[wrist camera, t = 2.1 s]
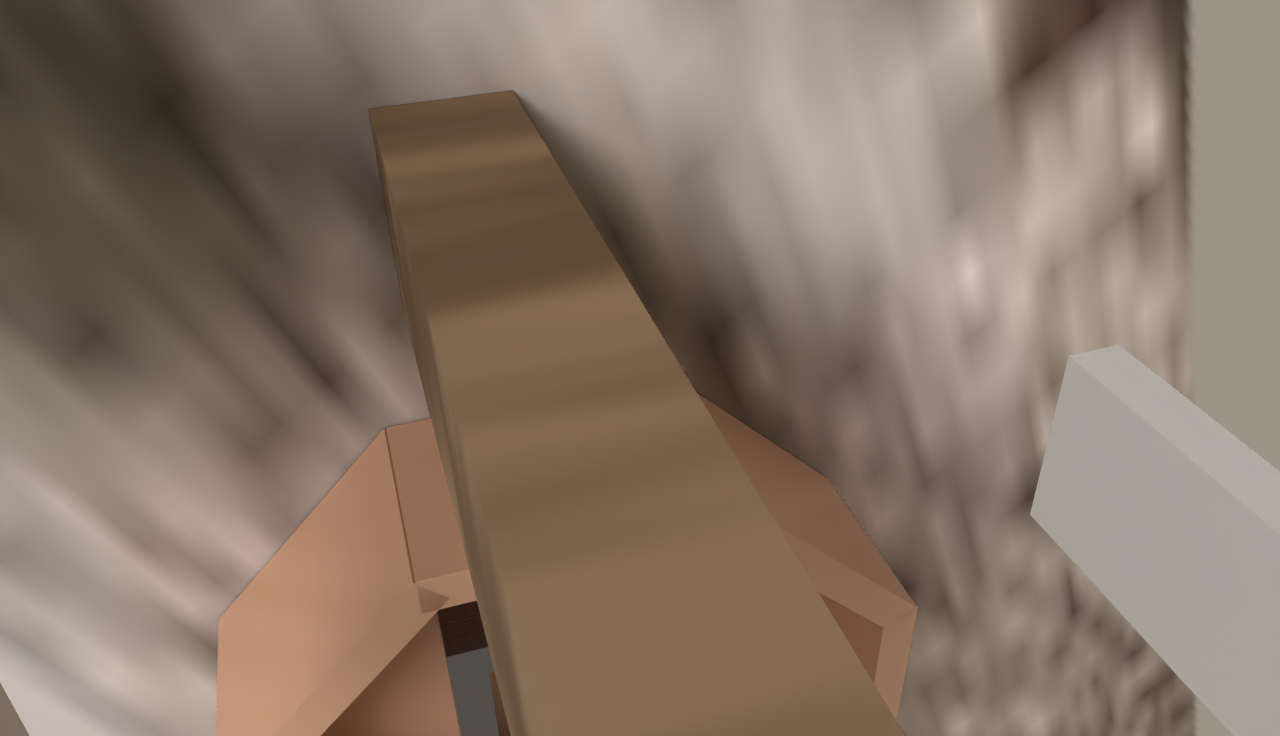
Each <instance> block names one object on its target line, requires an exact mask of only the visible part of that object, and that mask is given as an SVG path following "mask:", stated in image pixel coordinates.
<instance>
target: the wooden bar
mask: <svg viewBox="0 0 1280 736" xmlns="http://www.w3.org/2000/svg"><path fill="white" fill-rule="evenodd" d="M369 115H370V121H371V127H372V132H373V138H374V144H375V149H376V155H377V161H378V167H379V172H380V178H381V184H382V190H383V195H384V201H385V207H386V213H387V218H388V224H389V230H390V235H391V241H392V247H393V253H394V258H395V264H396V270H397V276H398V281H399V287H400V293H401V299H402V304H403V310H404V314H405V318H406V322H407V326H408V329H409V333H410V337H411V341H412V345H413V349H414V353H415V357H416V361H417V365H418V369H419V373H420V377H421V381H422V385H423V389H424V393H425V397H426V401H427V405H428V409H429V413H430V417H431V421H432V425H433V429H434V433H435V437H436V441H437V445H438V449H439V453H440V457H441V461H442V465H443V468H444V472H445V476H446V480H447V484H448V488H449V492H450V496H451V500H452V504H453V508H454V512H455V516H456V520H457V524H458V528H459V532H460V536H461V540H462V544H463V548H464V552H465V556H466V560H467V564H468V568H469V572H470V576H471V580H472V584H473V588H474V592H475V596H476V600H477V603H478V607H479V611H480V615H481V619H482V623H483V627H484V631H485V635H486V639H487V643H488V647H489V651H490V655H491V659H492V663H493V667H494V671H495V675H496V679H497V683H498V687H499V691H500V695H501V699H502V703H503V707H504V711H505V715H506V719H507V723H508V727H509V731H510V735H511V736H906V735H905V734H904V732H903V730H902V729H901V727H900V726H899V724H898V722H897V721H896V719H895V717H894V716H893V714H892V712H891V711H890V709H889V707H888V706H887V704H886V703H885V701H884V699H883V698H882V696H881V694H880V693H879V691H878V689H877V688H876V686H875V684H874V683H873V681H872V680H871V678H870V676H869V675H868V673H867V671H866V670H865V668H864V666H863V665H862V663H861V661H860V660H859V658H858V657H857V655H856V653H855V652H854V650H853V648H852V647H851V645H850V643H849V642H848V640H847V639H846V637H845V635H844V634H843V632H842V630H841V629H840V627H839V625H838V624H837V622H836V620H835V619H834V617H833V616H832V614H831V612H830V611H829V609H828V607H827V606H826V604H825V602H824V601H823V599H822V597H821V596H820V594H819V593H818V591H817V589H816V588H815V586H814V584H813V583H812V581H811V579H810V578H809V576H808V574H807V573H806V571H805V570H804V568H803V566H802V565H801V563H800V561H799V560H798V558H797V556H796V555H795V553H794V551H793V550H792V548H791V547H790V545H789V543H788V542H787V540H786V538H785V537H784V535H783V533H782V532H781V530H780V528H779V527H778V525H777V524H776V522H775V520H774V519H773V517H772V515H771V514H770V512H769V510H768V509H767V507H766V505H765V504H764V502H763V501H762V499H761V497H760V496H759V494H758V492H757V491H756V489H755V487H754V486H753V484H752V483H751V481H750V479H749V478H748V476H747V474H746V473H745V471H744V469H743V468H742V466H741V464H740V463H739V461H738V460H737V458H736V456H735V455H734V453H733V451H732V450H731V448H730V446H729V445H728V443H727V441H726V440H725V438H724V437H723V435H722V433H721V432H720V430H719V428H718V427H717V425H716V423H715V422H714V420H713V418H712V417H711V415H710V414H709V412H708V410H707V409H706V407H705V405H704V404H703V402H702V400H701V399H700V397H699V395H698V394H697V392H696V391H695V389H694V387H693V386H692V384H691V382H690V381H689V379H688V377H687V376H686V374H685V372H684V371H683V369H682V368H681V366H680V364H679V363H678V361H677V359H676V358H675V356H674V354H673V353H672V351H671V349H670V348H669V346H668V345H667V343H666V341H665V340H664V338H663V336H662V335H661V333H660V331H659V330H658V328H657V327H656V325H655V323H654V322H653V320H652V318H651V317H650V315H649V313H648V312H647V310H646V308H645V307H644V305H643V304H642V302H641V300H640V299H639V297H638V295H637V294H636V292H635V290H634V289H633V287H632V285H631V284H630V282H629V281H628V279H627V277H626V276H625V274H624V272H623V271H622V269H621V267H620V266H619V264H618V262H617V261H616V259H615V258H614V256H613V254H612V253H611V251H610V249H609V248H608V246H607V244H606V243H605V241H604V239H603V238H602V236H601V235H600V233H599V231H598V230H597V228H596V226H595V225H594V223H593V221H592V220H591V218H590V216H589V215H588V213H587V212H586V210H585V208H584V207H583V205H582V203H581V202H580V200H579V198H578V197H577V195H576V193H575V192H574V190H573V189H572V187H571V185H570V184H569V182H568V180H567V179H566V177H565V175H564V174H563V172H562V170H561V169H560V167H559V166H558V164H557V162H556V161H555V159H554V157H553V156H552V154H551V152H550V151H549V149H548V148H547V146H546V144H545V143H544V141H543V139H542V138H541V136H540V134H539V133H538V131H537V129H536V128H535V126H534V125H533V123H532V121H531V120H530V118H529V116H528V115H527V113H526V111H525V110H524V108H523V106H522V105H521V103H520V102H519V100H518V98H517V97H516V95H515V93H514V92H513V90H512V91H504V92H496V93H489V94H481V95H473V96H465V97H458V98H450V99H442V100H434V101H427V102H419V103H411V104H404V105H396V106H388V107H380V108H373V109H369Z"/></svg>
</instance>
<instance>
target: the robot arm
mask: <svg viewBox="0 0 1280 736" xmlns="http://www.w3.org/2000/svg"><path fill="white" fill-rule="evenodd" d="M1030 515H1031V516H1032V517H1033V518H1034V519H1035V520H1036V522H1037V523H1038V524H1039V525H1040V526H1041V527H1042V528H1043V529H1044V530H1045V531H1046V533H1047V534H1048V535H1049V536H1050V537H1051V538H1052V539H1053V540H1054V541H1055V542H1056V543H1057V545H1058V546H1059V547H1060V548H1061V549H1062V550H1063V551H1064V552H1065V553H1066V554H1067V555H1068V557H1069V558H1070V559H1071V560H1072V561H1073V562H1074V563H1075V564H1076V565H1077V566H1078V567H1079V569H1080V570H1081V571H1082V572H1083V573H1084V574H1085V575H1086V576H1087V577H1088V578H1089V579H1090V581H1091V582H1092V583H1093V584H1094V585H1095V586H1096V587H1097V588H1098V589H1099V590H1100V591H1101V593H1102V594H1103V595H1104V596H1105V597H1106V598H1107V599H1108V600H1109V601H1110V602H1111V603H1112V605H1113V606H1114V607H1115V608H1116V609H1117V610H1118V611H1119V612H1120V613H1121V614H1122V616H1123V617H1124V618H1125V619H1126V620H1127V621H1128V622H1129V623H1130V624H1131V625H1132V626H1133V628H1134V629H1135V630H1136V631H1137V632H1138V633H1139V634H1140V635H1141V636H1142V637H1143V638H1144V640H1145V641H1146V642H1147V643H1148V644H1149V645H1150V646H1151V647H1152V648H1153V649H1154V650H1155V652H1156V653H1157V654H1158V655H1159V656H1160V657H1161V658H1162V659H1163V660H1164V661H1165V662H1166V664H1167V665H1168V666H1169V667H1170V668H1171V669H1172V670H1173V671H1174V672H1175V673H1176V674H1177V676H1178V677H1179V678H1180V679H1181V680H1182V681H1183V682H1184V683H1185V684H1186V685H1187V686H1188V688H1189V689H1190V690H1191V691H1192V692H1193V693H1194V694H1195V695H1196V696H1197V697H1198V699H1199V700H1200V701H1201V702H1202V703H1203V704H1204V705H1205V706H1206V707H1207V708H1208V709H1209V710H1210V712H1211V713H1212V714H1213V715H1214V716H1215V717H1216V718H1217V719H1218V720H1219V721H1220V723H1221V724H1222V725H1223V726H1224V727H1225V728H1226V729H1227V730H1228V731H1229V732H1230V733H1231V735H1232V736H1280V471H1279V470H1277V469H1276V468H1275V467H1273V466H1272V465H1271V464H1270V463H1268V462H1267V461H1266V460H1265V459H1263V458H1262V457H1261V456H1260V455H1258V454H1257V453H1256V452H1254V451H1253V450H1252V449H1251V448H1249V447H1248V446H1247V445H1246V444H1244V443H1243V442H1242V441H1240V440H1239V439H1238V438H1237V437H1235V436H1234V435H1233V434H1232V433H1230V432H1229V431H1228V430H1226V429H1225V428H1224V427H1223V426H1221V425H1220V424H1219V423H1218V422H1216V421H1215V420H1214V419H1213V418H1211V417H1210V416H1209V415H1207V414H1206V413H1205V412H1204V411H1202V410H1201V409H1200V408H1199V407H1197V406H1196V405H1195V404H1193V403H1192V402H1191V401H1190V400H1188V399H1187V398H1186V397H1185V396H1183V395H1182V394H1181V393H1180V392H1178V391H1177V390H1176V389H1174V388H1173V387H1172V386H1171V385H1169V384H1168V383H1167V382H1166V381H1164V380H1163V379H1162V378H1160V377H1159V376H1158V375H1157V374H1155V373H1154V372H1153V371H1152V370H1150V369H1149V368H1148V367H1146V366H1145V365H1144V364H1143V363H1141V362H1140V361H1139V360H1138V359H1136V358H1135V357H1134V356H1133V355H1131V354H1130V353H1129V352H1127V351H1126V350H1125V349H1124V348H1122V347H1121V346H1120V345H1116V346H1111V347H1107V348H1102V349H1097V350H1093V351H1088V352H1083V353H1079V354H1074V355H1069V357H1068V361H1067V365H1066V369H1065V373H1064V377H1063V382H1062V386H1061V390H1060V394H1059V398H1058V402H1057V406H1056V410H1055V414H1054V418H1053V422H1052V427H1051V431H1050V435H1049V439H1048V443H1047V447H1046V451H1045V455H1044V459H1043V463H1042V468H1041V472H1040V476H1039V480H1038V484H1037V488H1036V492H1035V496H1034V500H1033V504H1032V508H1031V513H1030ZM0 736H29V734H28V732H27V730H26V729H25V727H24V725H23V723H22V721H21V720H20V718H19V716H18V714H17V712H16V711H15V709H14V707H13V705H12V703H11V702H10V700H9V698H8V696H7V694H6V692H5V691H4V689H3V687H2V685H1V683H0Z"/></svg>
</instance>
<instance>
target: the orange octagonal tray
mask: <svg viewBox="0 0 1280 736" xmlns="http://www.w3.org/2000/svg"><path fill="white" fill-rule="evenodd" d="M697 394H698V393H697ZM698 395H699V397H700V399H701V400H702V402H703V404H704V405H705V407H706V409H707V410H708V412H709V414H710V415H711V417H712V418H713V420H714V422H715V423H716V425H717V427H718V428H719V430H720V432H721V433H722V435H723V437H724V438H725V440H726V441H727V443H728V445H729V446H730V448H731V450H732V451H733V453H734V455H735V456H736V458H737V460H738V461H739V463H740V464H741V466H742V468H743V469H744V471H745V473H746V474H747V476H748V478H749V479H750V481H751V483H752V484H753V486H754V487H755V489H756V491H757V492H758V494H759V496H760V497H761V499H762V501H763V502H764V504H765V505H766V507H767V509H768V510H769V512H770V514H771V515H772V517H773V519H774V520H775V522H776V524H777V525H778V527H779V528H780V530H781V532H782V533H783V535H784V537H785V538H786V540H787V542H788V543H789V545H790V547H791V548H792V550H793V551H794V553H795V555H796V556H797V558H798V560H799V561H800V563H801V565H802V566H803V568H804V570H805V571H806V573H807V574H808V576H809V578H810V579H811V581H812V583H813V584H814V586H815V588H816V589H817V591H818V593H819V594H820V596H821V597H822V599H823V601H824V602H825V604H826V606H827V607H828V609H829V611H830V612H831V614H832V616H833V617H834V619H835V620H836V622H837V624H838V625H839V627H840V629H841V630H842V632H843V634H844V635H845V637H846V639H847V640H848V642H849V643H850V645H851V647H852V648H853V650H854V652H855V653H856V655H857V657H858V658H859V660H860V661H861V663H862V665H863V666H864V668H865V670H866V671H867V673H868V675H869V676H870V678H871V680H872V681H873V683H874V684H875V686H876V688H877V689H878V691H879V693H880V694H881V696H882V698H883V699H884V701H885V703H886V704H887V706H888V707H889V709H890V711H891V712H892V714H893V716H894V717H895V719H896V721H897V717H898V711H899V706H900V701H901V696H902V691H903V685H904V680H905V675H906V670H907V665H908V659H909V654H910V649H911V644H912V639H913V633H914V628H915V623H916V618H917V612H918V608H917V606H916V605H915V603H914V602H913V601H912V599H911V598H910V596H909V595H908V593H907V592H906V590H905V589H904V588H903V586H902V585H901V583H900V582H899V580H898V579H897V578H896V576H895V575H894V573H893V572H892V570H891V569H890V568H889V566H888V565H887V563H886V562H885V560H884V559H883V558H882V556H881V555H880V553H879V552H878V550H877V549H876V547H875V546H874V545H873V543H872V542H871V540H870V539H869V537H868V536H867V535H866V533H865V532H864V530H863V529H862V527H861V526H860V525H859V523H858V522H857V520H856V519H855V517H854V516H853V514H852V513H851V512H850V510H849V509H848V507H847V506H846V504H845V503H844V502H843V500H842V499H841V497H840V496H839V494H838V493H837V492H836V490H835V489H834V487H833V486H832V484H831V483H830V482H829V480H828V479H827V478H826V477H825V476H823V475H822V474H820V473H818V472H817V471H815V470H814V469H812V468H811V467H809V466H808V465H806V464H805V463H803V462H802V461H800V460H799V459H797V458H796V457H794V456H793V455H791V454H790V453H788V452H786V451H785V450H783V449H782V448H780V447H779V446H777V445H776V444H774V443H773V442H771V441H770V440H768V439H767V438H765V437H764V436H762V435H761V434H759V433H758V432H756V431H754V430H753V429H751V428H750V427H748V426H747V425H745V424H744V423H742V422H741V421H739V420H738V419H736V418H735V417H733V416H732V415H730V414H729V413H727V412H725V411H724V410H722V409H721V408H719V407H718V406H716V405H715V404H713V403H712V402H710V401H709V400H707V399H706V398H704V397H703V396H701V395H700V394H698ZM473 601H477V600H476V596H475V592H474V588H473V584H472V580H471V576H470V572H469V568H468V564H467V560H466V556H465V552H464V548H463V544H462V540H461V536H460V532H459V528H458V524H457V520H456V516H455V512H454V508H453V504H452V500H451V496H450V492H449V488H448V484H447V480H446V476H445V472H444V468H443V465H442V461H441V457H440V453H439V449H438V445H437V441H436V437H435V433H434V429H433V425H432V421H431V418H430V419H425V420H420V421H415V422H410V423H405V424H400V425H395V426H390V427H386V429H383V430H382V431H381V432H380V434H379V435H378V436H377V437H376V438H375V439H374V441H373V442H372V443H371V444H370V445H369V446H368V447H367V449H366V450H365V451H364V452H363V453H362V454H361V456H360V457H359V458H358V459H357V460H356V461H355V463H354V464H353V465H352V466H351V467H350V468H349V469H348V471H347V472H346V473H345V474H344V475H343V476H342V478H341V479H340V480H339V481H338V482H337V483H336V484H335V486H334V487H333V488H332V489H331V490H330V491H329V493H328V494H327V495H326V496H325V497H324V498H323V500H322V501H321V502H320V503H319V504H318V505H317V506H316V508H315V509H314V510H313V511H312V512H311V513H310V515H309V516H308V517H307V518H306V519H305V520H304V521H303V523H302V524H301V525H300V526H299V527H298V528H297V530H296V531H295V532H294V533H293V534H292V535H291V536H290V538H289V539H288V540H287V541H286V542H285V543H284V545H283V546H282V547H281V548H280V549H279V550H278V552H277V553H276V554H275V555H274V556H273V557H272V558H271V560H270V561H269V562H268V563H267V564H266V565H265V567H264V568H263V569H262V570H261V571H260V572H259V573H258V575H257V576H256V577H255V578H254V579H253V580H252V582H251V583H250V584H249V585H248V586H247V587H246V589H245V590H244V591H243V592H242V593H241V594H240V595H239V597H238V598H237V599H236V600H235V601H234V602H233V604H232V605H231V606H230V607H229V608H228V609H227V610H226V612H225V613H224V614H223V615H222V616H221V617H220V619H219V621H218V673H217V735H216V736H460V731H459V726H458V721H457V716H456V710H455V705H454V700H453V694H452V689H451V684H450V679H449V673H448V668H447V663H446V657H445V652H444V647H443V642H442V636H441V631H440V626H439V621H438V615H437V611H438V610H439V609H444V608H448V607H452V606H456V605H460V604H464V603H468V602H473ZM489 674H490V680H491V687H492V693H493V700H494V706H495V713H496V719H497V726H498V732H499V736H511V735H510V731H509V727H508V723H507V719H506V715H505V711H504V707H503V703H502V699H501V695H500V691H499V687H498V683H497V679H496V675H495V671H494V672H490V673H489Z"/></svg>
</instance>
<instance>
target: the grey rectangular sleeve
mask: <svg viewBox="0 0 1280 736" xmlns="http://www.w3.org/2000/svg"><path fill="white" fill-rule="evenodd" d="M437 615H438V621H439V626H440V631H441V636H442V642H443V647H444V652H445V657H446V663H447V668H448V673H449V679H450V684H451V689H452V694H453V700H454V705H455V710H456V716H457V721H458V726H459V731H460V736H499V732H498V726H497V719H496V713H495V706H494V700H493V693H492V687H491V680H490V674H489V673H490V672H494V667H493V663H492V659H491V655H490V651H489V647H488V643H487V639H486V635H485V631H484V627H483V623H482V619H481V615H480V611H479V607H478V603H477V601H473V602H468V603H464V604H460V605H456V606H452V607H448V608H444V609H439V610H438V611H437Z"/></svg>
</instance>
